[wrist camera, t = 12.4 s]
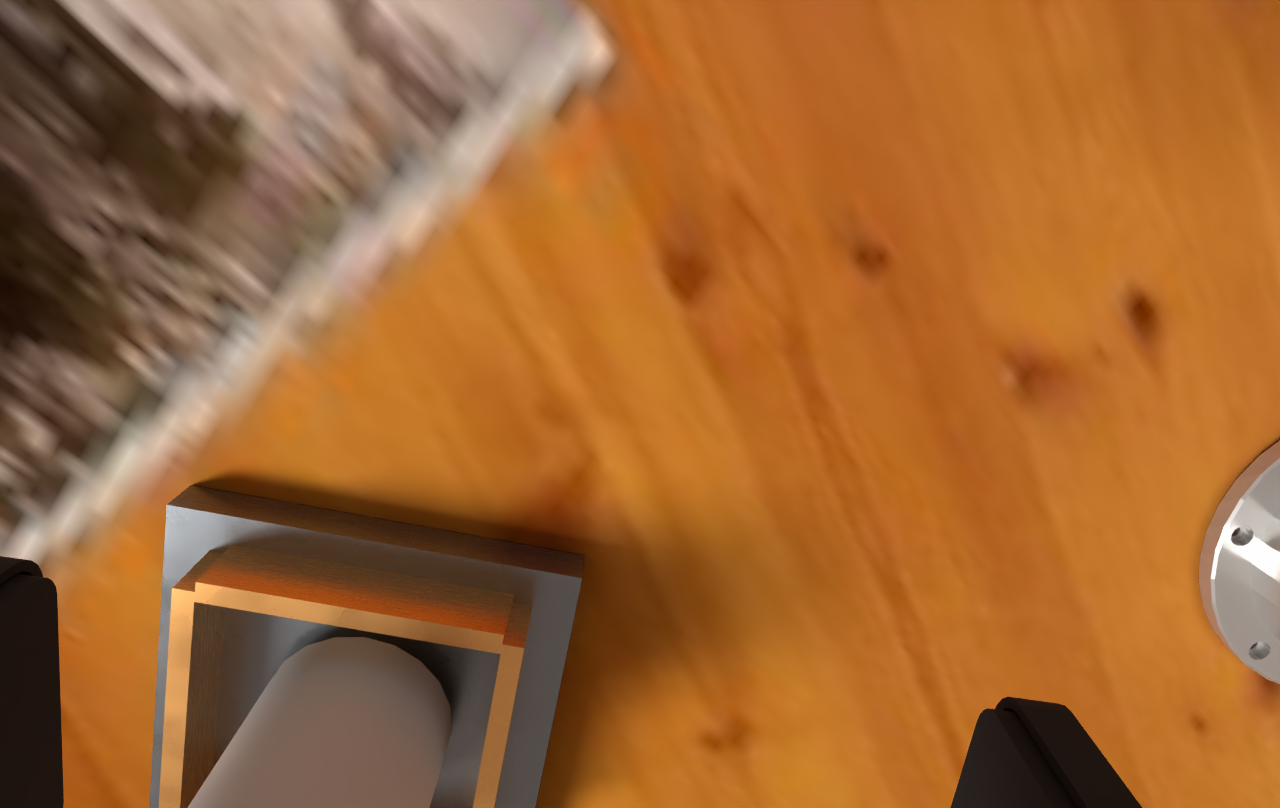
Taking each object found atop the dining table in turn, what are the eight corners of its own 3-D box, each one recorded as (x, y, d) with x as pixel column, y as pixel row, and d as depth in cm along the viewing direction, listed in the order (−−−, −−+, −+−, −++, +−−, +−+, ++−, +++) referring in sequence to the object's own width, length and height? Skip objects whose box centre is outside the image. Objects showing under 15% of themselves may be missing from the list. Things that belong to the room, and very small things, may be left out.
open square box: (584, 555, 37) (578, 617, 33) (525, 846, 42) (511, 939, 37) (191, 484, 36) (124, 538, 32) (171, 791, 41) (110, 880, 36)
